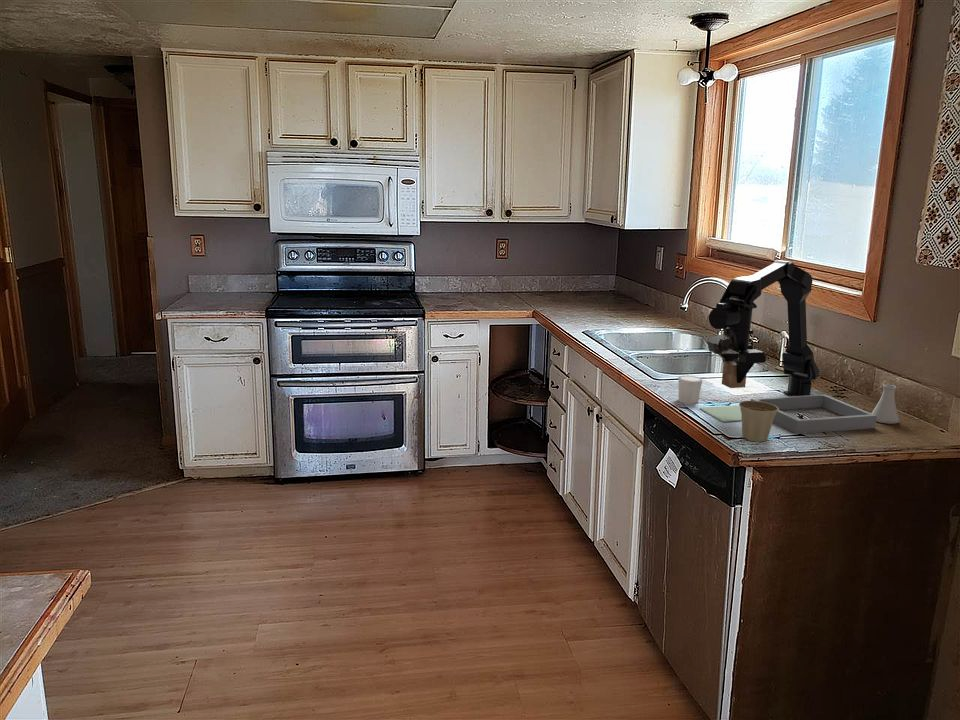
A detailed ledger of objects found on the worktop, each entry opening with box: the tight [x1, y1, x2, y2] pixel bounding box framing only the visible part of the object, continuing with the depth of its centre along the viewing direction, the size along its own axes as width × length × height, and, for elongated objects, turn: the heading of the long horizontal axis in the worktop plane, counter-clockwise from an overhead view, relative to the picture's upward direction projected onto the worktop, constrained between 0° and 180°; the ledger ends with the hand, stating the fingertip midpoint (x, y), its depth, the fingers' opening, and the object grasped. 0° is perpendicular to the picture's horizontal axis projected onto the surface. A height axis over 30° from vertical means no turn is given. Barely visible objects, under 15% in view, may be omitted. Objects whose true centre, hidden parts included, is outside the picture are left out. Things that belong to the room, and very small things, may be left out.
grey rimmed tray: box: [750, 393, 877, 435], centre depth 204 cm, size 20×24×4 cm
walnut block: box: [721, 361, 748, 389], centre depth 204 cm, size 4×4×6 cm
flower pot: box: [738, 400, 779, 443], centre depth 187 cm, size 9×9×9 cm
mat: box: [699, 405, 742, 423], centre depth 207 cm, size 12×12×1 cm
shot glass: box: [677, 375, 703, 405], centre depth 218 cm, size 7×7×7 cm
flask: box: [871, 384, 900, 425], centre depth 204 cm, size 7×7×10 cm
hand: (733, 380), depth 205 cm, fingers closed on walnut block, 4 cm apart
